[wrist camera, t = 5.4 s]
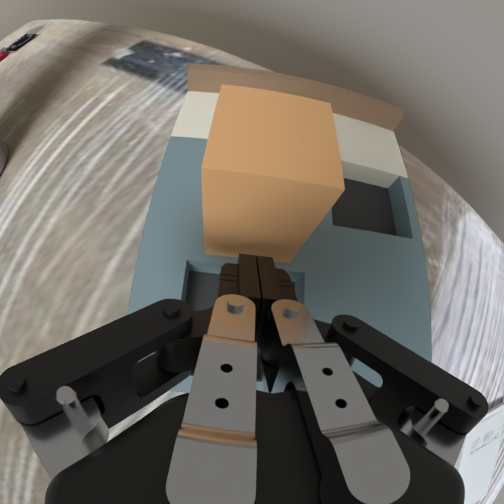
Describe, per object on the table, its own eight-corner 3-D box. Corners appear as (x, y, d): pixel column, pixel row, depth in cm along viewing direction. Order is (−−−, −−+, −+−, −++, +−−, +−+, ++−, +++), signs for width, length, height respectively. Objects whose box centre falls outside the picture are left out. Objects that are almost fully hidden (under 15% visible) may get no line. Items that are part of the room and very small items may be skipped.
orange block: (204, 253, 16) (201, 167, 9) (215, 183, 18) (221, 84, 11) (288, 263, 17) (344, 189, 9) (289, 192, 19) (330, 103, 11)
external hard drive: (434, 519, 12) (457, 421, 17) (479, 491, 13) (498, 402, 18) (443, 523, 11) (469, 422, 15) (488, 493, 12) (508, 401, 16)
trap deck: (132, 378, 15) (103, 384, 11) (190, 104, 24) (190, 63, 19) (410, 384, 17) (454, 384, 13) (380, 139, 26) (402, 108, 21)
